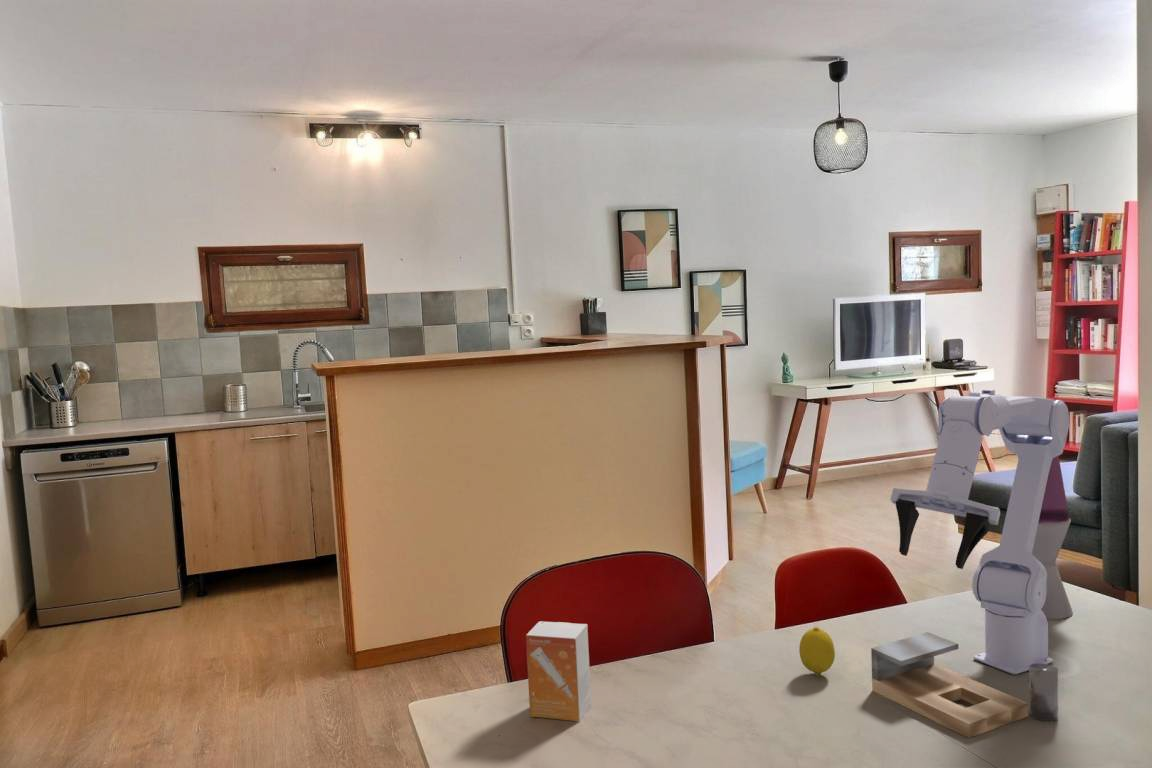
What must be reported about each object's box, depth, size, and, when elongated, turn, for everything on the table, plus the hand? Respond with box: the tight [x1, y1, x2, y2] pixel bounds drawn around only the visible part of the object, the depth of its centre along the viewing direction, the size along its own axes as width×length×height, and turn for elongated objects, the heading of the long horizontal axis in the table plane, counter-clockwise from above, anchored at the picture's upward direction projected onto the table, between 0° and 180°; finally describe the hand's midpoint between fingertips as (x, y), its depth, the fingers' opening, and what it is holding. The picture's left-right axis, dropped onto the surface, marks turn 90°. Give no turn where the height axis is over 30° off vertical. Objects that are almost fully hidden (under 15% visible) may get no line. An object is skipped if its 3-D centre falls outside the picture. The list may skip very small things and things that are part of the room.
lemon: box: [798, 626, 836, 676], centre depth 146 cm, size 6×6×8 cm
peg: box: [1028, 663, 1059, 723], centre depth 128 cm, size 4×4×7 cm
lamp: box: [1032, 455, 1073, 621], centre depth 168 cm, size 11×11×40 cm
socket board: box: [870, 631, 1029, 739], centre depth 134 cm, size 12×18×7 cm, turn 26°
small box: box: [525, 620, 592, 723], centre depth 137 cm, size 8×6×13 cm
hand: (930, 560), depth 127 cm, fingers open, 7 cm apart
